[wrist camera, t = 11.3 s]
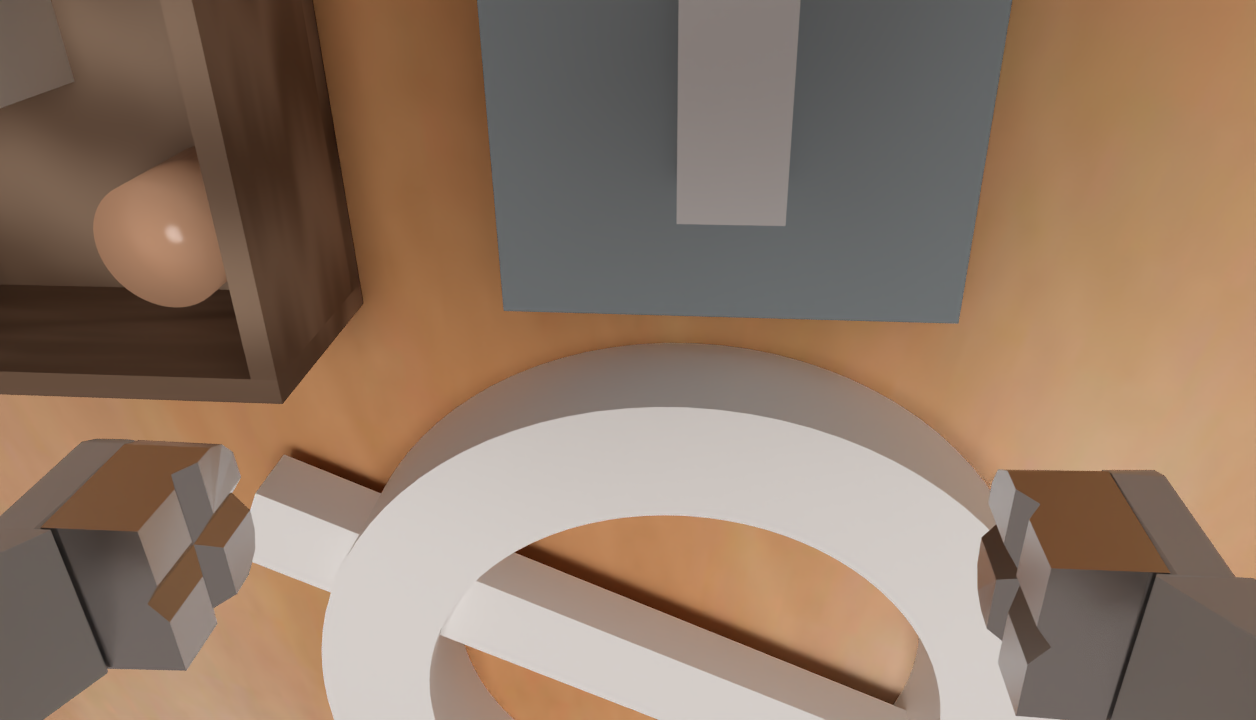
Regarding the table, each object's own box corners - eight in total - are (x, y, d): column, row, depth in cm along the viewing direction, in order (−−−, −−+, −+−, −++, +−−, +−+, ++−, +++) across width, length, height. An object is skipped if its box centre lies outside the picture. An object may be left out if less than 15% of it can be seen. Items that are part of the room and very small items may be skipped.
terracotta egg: (150, 143, 31) (76, 181, 28) (267, 144, 31) (206, 182, 27) (179, 257, 33) (114, 306, 29) (290, 259, 33) (237, 308, 29)
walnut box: (-155, -127, 29) (-395, -119, 23) (289, -136, 27) (162, -131, 21) (-1, 294, 35) (-153, 388, 29) (363, 303, 34) (282, 404, 28)
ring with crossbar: (241, 451, 38) (181, 525, 34) (941, 238, 31) (973, 298, 27) (522, 873, 50) (503, 967, 46) (1077, 787, 43) (1115, 888, 39)
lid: (475, -201, 27) (421, -212, 22) (1028, -213, 25) (1096, -228, 20) (514, 289, 34) (479, 359, 29) (947, 300, 32) (983, 376, 28)
